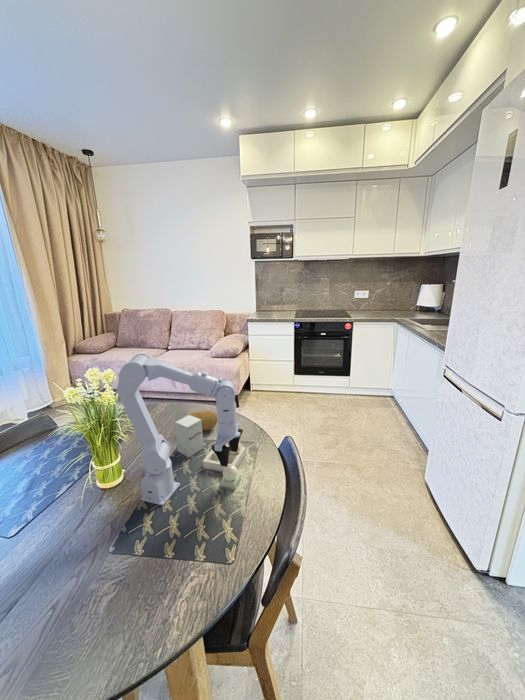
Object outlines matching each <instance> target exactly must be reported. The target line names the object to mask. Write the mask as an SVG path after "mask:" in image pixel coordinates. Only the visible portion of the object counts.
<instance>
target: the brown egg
mask: <svg viewBox="0 0 525 700" xmlns="http://www.w3.org/2000/svg"><path fill="white" fill-rule="evenodd" d="M227 445H228V447H230V446H229V444H227ZM241 447H242V445H241V444H240V443H239V445H238V450H237V452H232V451H231V450H230V454H234V455H236V454H238V453H239V452H240V450H241Z"/></svg>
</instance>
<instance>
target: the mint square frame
mask: <svg viewBox="0 0 525 700" xmlns="http://www.w3.org/2000/svg"><path fill="white" fill-rule="evenodd" d="M241 476H242V475H241V473H238V475H237V477H236V479H234V480H233V481H227V480H226V479H225V478H224V477H222V479H220V481H219V485H220V488H222V489H223V488H224V489H228V490H229V489H230V490H233V491H235V490H236V489H237V488H238V486H239V483H240V482H241V480H242V477H241Z"/></svg>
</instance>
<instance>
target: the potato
mask: <svg viewBox="0 0 525 700" xmlns="http://www.w3.org/2000/svg"><path fill="white" fill-rule="evenodd" d="M188 415H191V416H193V417H196V418H199V419H201V421H202V432H205V431H209V430H212V429H214V428H215V427H216V425H217V424H218V423H217V412H215V411H209V410H207V411H206V410H200V411H194V412H191V413H189V414H188Z"/></svg>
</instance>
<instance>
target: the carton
mask: <svg viewBox="0 0 525 700" xmlns="http://www.w3.org/2000/svg"><path fill="white" fill-rule="evenodd" d="M225 445H226V447H228V445H229V444H227V443H226V444H225ZM246 456H247V448H246V447H245V446H241V450H240V452H239V453H238V454H236V455H234V454H230V453H229V461H228V465H233V466H235V467H236V468H237V470H238V468H239V467H240V465H241V463H242V462H243V461H244V458H245V457H246ZM202 466H203V467H202V468H203V469H204V470H208V471H209V470H210V471H215V472H219V473H223V470H224V468H225V466H221V464H220V462H219V459H218V457H217V455H216V454H215V453H214V451H213V450H212V449H211V450H210V451H209V453H208V454H207V455H206V456H205V458H203V460H202Z"/></svg>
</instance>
